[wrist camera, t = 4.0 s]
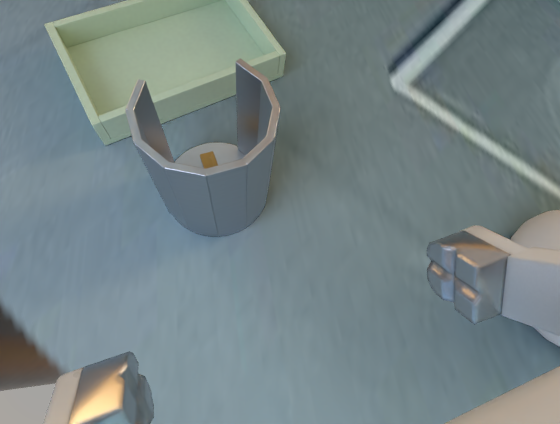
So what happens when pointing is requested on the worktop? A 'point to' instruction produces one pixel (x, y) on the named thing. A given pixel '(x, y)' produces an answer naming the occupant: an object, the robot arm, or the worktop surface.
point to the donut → (541, 243)
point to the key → (208, 160)
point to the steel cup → (230, 158)
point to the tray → (161, 56)
